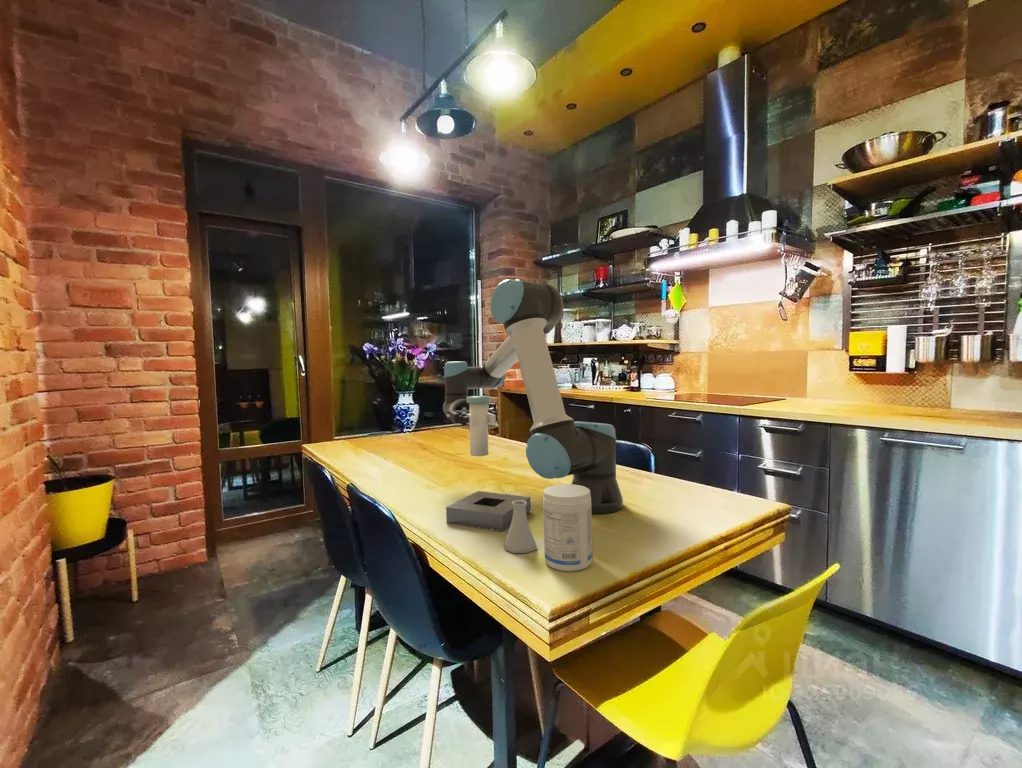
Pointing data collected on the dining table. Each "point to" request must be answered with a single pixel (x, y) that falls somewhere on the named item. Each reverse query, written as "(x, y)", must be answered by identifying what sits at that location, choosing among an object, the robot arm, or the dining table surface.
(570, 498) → the supplement tub
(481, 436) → the teal-capped white peg
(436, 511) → the dining table surface
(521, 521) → the flask
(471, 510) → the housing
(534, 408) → the robot arm
